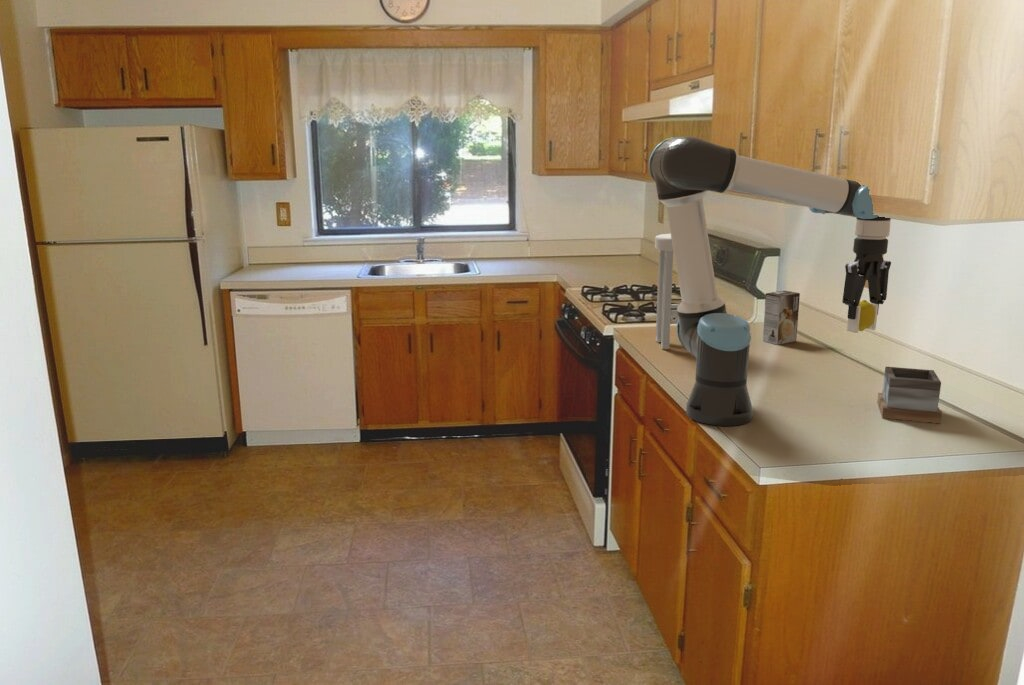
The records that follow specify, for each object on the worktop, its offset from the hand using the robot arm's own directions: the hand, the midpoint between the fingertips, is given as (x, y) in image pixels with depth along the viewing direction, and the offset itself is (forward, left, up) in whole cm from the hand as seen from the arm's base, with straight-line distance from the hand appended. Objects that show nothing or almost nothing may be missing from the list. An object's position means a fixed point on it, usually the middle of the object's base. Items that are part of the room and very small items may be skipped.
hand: (861, 330), depth 189 cm
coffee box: (+51, +19, -17) cm, 58 cm away
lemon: (0, 0, -1) cm, 1 cm away
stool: (+36, +50, -17) cm, 64 cm away
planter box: (-11, -11, -17) cm, 23 cm away
